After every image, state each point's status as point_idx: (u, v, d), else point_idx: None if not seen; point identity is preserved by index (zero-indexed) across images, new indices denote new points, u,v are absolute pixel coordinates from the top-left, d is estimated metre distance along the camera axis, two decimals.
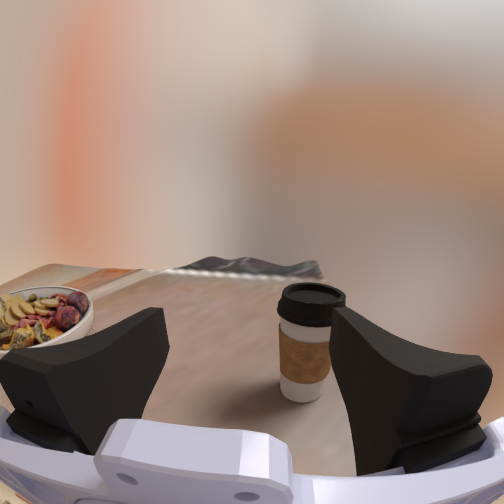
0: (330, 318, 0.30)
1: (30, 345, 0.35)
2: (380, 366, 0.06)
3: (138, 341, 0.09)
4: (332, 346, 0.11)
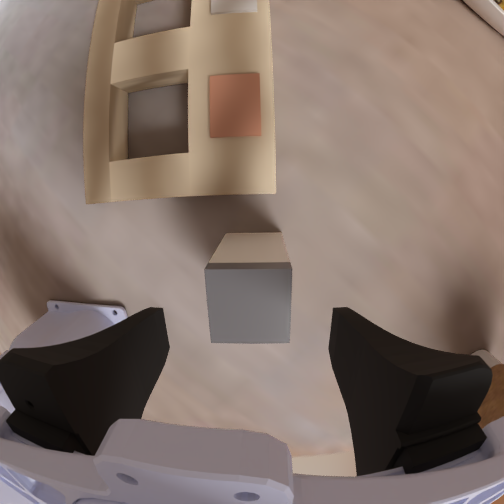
0: None
1: None
2: (380, 365, 0.06)
3: (138, 341, 0.09)
4: (332, 346, 0.11)
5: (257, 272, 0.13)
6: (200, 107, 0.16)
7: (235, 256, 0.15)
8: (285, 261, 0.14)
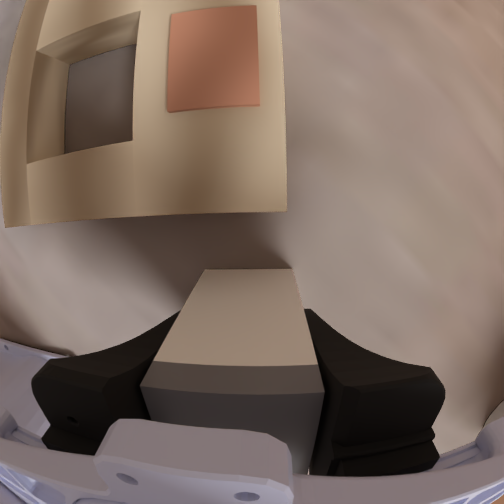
0: None
1: None
2: (322, 371, 0.07)
3: None
4: None
5: (249, 399, 0.06)
6: (154, 63, 0.08)
7: (208, 341, 0.08)
8: (307, 364, 0.06)
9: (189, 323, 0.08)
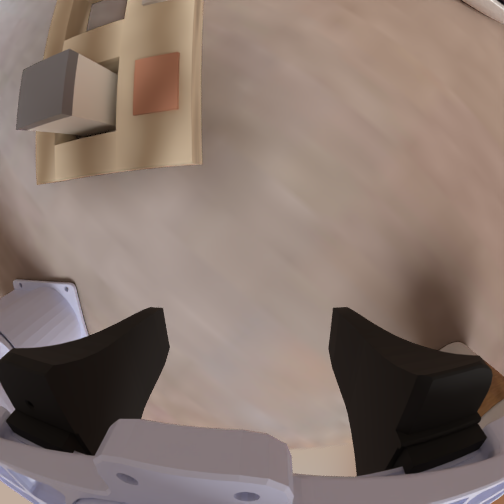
0: None
1: None
2: (380, 365, 0.06)
3: (138, 341, 0.09)
4: (332, 346, 0.11)
5: (49, 59, 0.10)
6: (127, 89, 0.15)
7: None
8: (75, 54, 0.11)
9: None
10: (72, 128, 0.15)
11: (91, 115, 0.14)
